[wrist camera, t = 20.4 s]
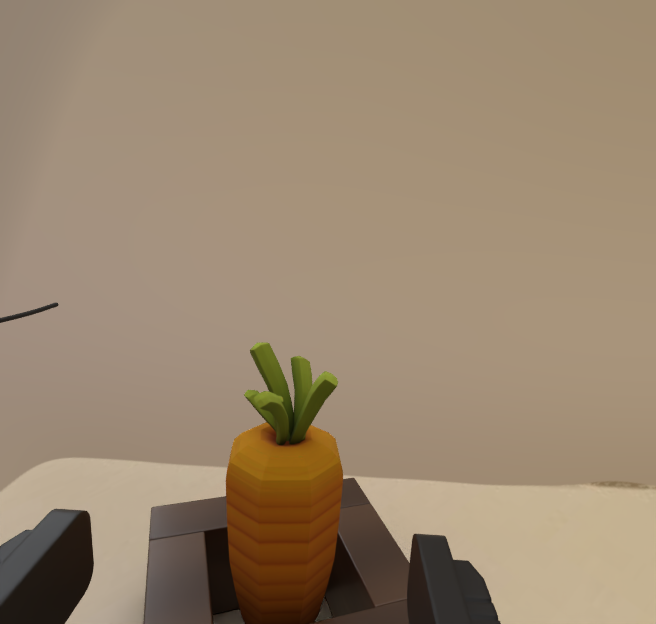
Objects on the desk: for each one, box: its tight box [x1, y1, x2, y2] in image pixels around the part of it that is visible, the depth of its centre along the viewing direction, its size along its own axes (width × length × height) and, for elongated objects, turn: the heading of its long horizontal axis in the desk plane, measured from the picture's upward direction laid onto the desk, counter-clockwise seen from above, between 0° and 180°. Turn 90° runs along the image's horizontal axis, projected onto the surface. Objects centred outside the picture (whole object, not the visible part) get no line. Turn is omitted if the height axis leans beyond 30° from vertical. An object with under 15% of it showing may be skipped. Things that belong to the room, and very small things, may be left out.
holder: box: [143, 478, 410, 624], centre depth 21 cm, size 11×11×5 cm
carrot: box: [226, 343, 343, 624], centre depth 20 cm, size 5×5×15 cm
